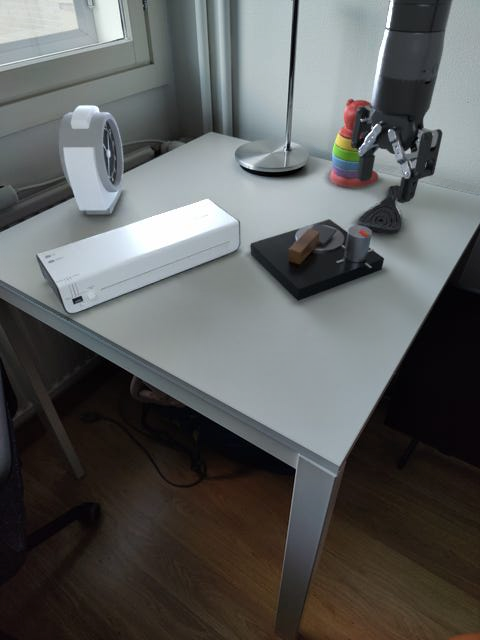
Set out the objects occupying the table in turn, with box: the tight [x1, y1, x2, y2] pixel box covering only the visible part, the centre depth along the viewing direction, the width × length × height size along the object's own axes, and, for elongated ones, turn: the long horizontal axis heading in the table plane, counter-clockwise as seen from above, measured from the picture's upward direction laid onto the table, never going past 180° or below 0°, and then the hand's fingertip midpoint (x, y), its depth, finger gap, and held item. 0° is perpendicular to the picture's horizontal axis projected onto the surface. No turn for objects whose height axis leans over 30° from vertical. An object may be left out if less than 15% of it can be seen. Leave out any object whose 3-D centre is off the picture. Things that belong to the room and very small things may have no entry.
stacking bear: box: [329, 98, 379, 188], centre depth 105 cm, size 11×10×18 cm
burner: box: [296, 224, 344, 252], centre depth 86 cm, size 9×9×1 cm
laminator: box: [35, 198, 241, 315], centre depth 82 cm, size 34×12×6 cm, turn 124°
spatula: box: [289, 222, 337, 264], centre depth 83 cm, size 12×4×3 cm, turn 145°
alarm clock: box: [58, 105, 125, 215], centre depth 97 cm, size 18×8×20 cm, turn 179°
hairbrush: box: [356, 184, 403, 235], centre depth 97 cm, size 8×4×25 cm
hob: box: [250, 218, 385, 302], centre depth 84 cm, size 18×17×3 cm
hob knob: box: [344, 225, 373, 262], centre depth 80 cm, size 4×4×5 cm
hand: (383, 190), depth 69 cm, fingers open, 8 cm apart
